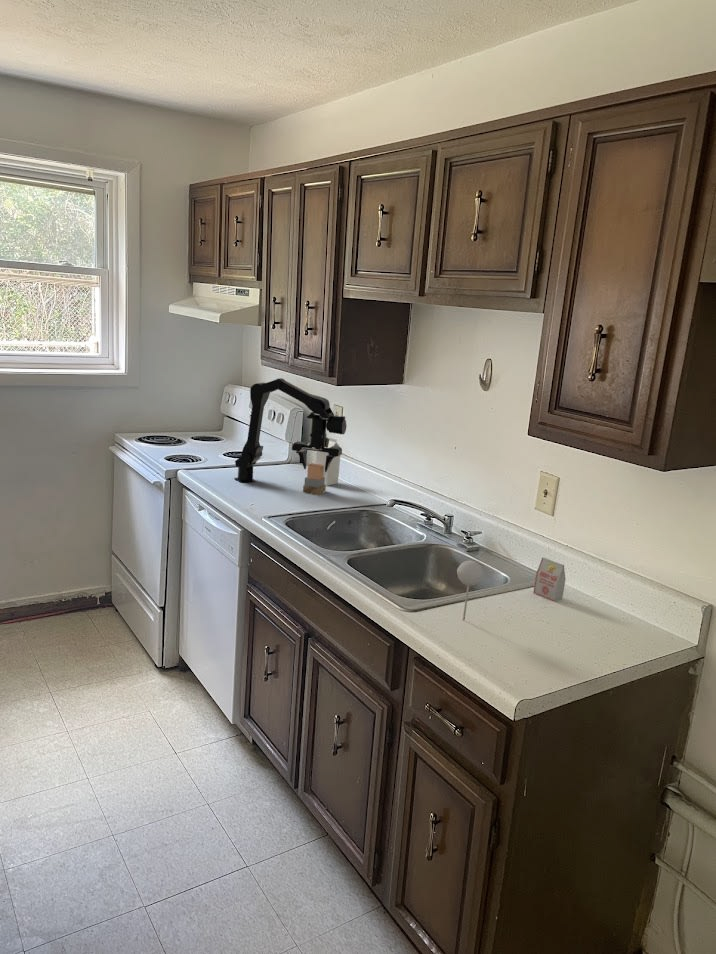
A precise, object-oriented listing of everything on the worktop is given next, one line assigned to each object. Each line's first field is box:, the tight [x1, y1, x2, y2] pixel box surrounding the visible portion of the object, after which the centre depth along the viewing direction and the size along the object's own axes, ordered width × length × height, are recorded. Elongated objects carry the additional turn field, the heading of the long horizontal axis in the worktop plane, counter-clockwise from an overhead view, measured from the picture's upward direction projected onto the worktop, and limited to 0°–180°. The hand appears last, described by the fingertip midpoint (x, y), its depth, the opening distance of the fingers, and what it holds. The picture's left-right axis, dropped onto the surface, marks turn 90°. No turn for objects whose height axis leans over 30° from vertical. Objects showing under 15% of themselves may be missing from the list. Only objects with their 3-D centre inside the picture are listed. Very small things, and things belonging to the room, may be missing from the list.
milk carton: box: [315, 437, 341, 487], centre depth 294 cm, size 7×7×19 cm
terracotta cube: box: [306, 462, 324, 480], centre depth 278 cm, size 5×5×5 cm
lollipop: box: [456, 560, 484, 621], centre depth 171 cm, size 6×6×15 cm
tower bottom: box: [302, 484, 327, 496], centre depth 280 cm, size 7×7×3 cm
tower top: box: [303, 476, 325, 488], centre depth 279 cm, size 6×6×3 cm
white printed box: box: [533, 557, 566, 603], centre depth 192 cm, size 4×7×10 cm, turn 40°
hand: (315, 470), depth 278 cm, fingers open, 8 cm apart
